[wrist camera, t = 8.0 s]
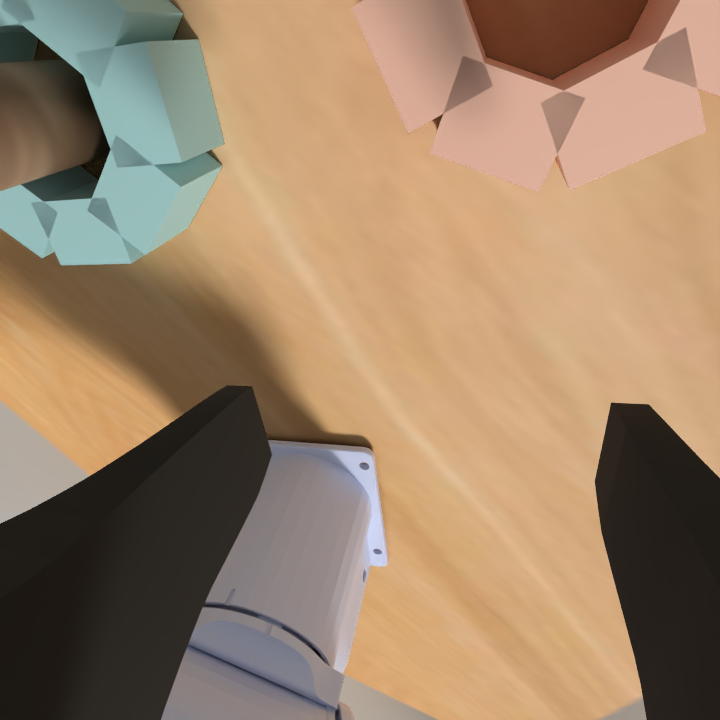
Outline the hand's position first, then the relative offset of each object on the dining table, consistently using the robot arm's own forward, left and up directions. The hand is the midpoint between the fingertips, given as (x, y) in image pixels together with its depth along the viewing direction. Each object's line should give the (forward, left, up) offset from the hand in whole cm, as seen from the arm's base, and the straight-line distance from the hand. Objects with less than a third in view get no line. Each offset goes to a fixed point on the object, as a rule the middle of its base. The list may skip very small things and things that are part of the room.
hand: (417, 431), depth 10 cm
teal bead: (+6, +13, -10) cm, 17 cm away
